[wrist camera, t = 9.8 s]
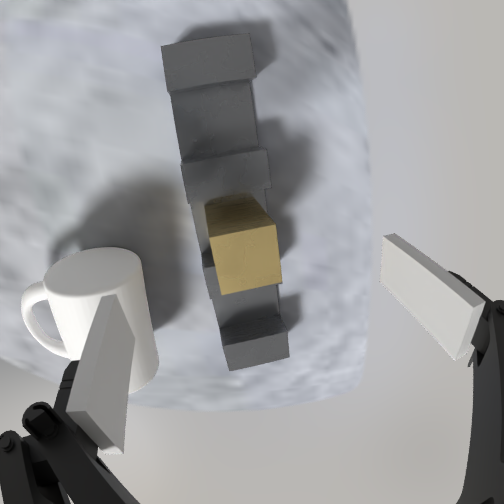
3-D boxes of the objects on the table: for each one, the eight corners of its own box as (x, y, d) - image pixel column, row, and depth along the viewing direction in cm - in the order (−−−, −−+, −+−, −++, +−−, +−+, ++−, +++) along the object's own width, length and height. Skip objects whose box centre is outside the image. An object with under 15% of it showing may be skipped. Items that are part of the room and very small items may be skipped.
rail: (164, 55, 19) (160, 46, 16) (242, 43, 20) (249, 33, 17) (225, 351, 31) (229, 371, 28) (281, 338, 32) (289, 357, 29)
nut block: (204, 206, 24) (209, 238, 18) (253, 196, 25) (275, 224, 18) (213, 251, 26) (221, 295, 20) (259, 241, 26) (282, 281, 20)
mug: (147, 243, 25) (132, 292, 18) (161, 336, 29) (157, 397, 22) (28, 251, 23) (-14, 296, 16) (55, 338, 27) (32, 391, 20)
